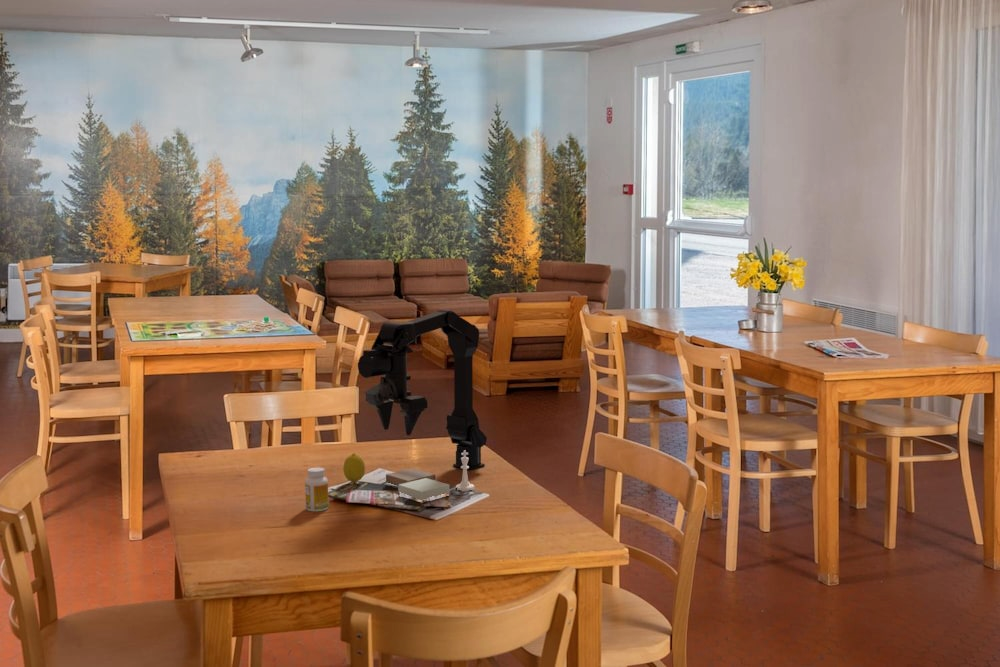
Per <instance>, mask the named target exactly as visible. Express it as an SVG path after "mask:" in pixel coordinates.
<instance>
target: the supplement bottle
mask: <svg viewBox="0 0 1000 667" xmlns="http://www.w3.org/2000/svg"><path fill="white" fill-rule="evenodd" d="M325 472H326V470H325V468H323V467H311V468H308V469H307V476H308V477H307V478H306V479H305V481H304V487H305V488H304V490H305V509H306V511H308V512H311V513H312V512H314V513H315V512H316V513H317V512H324V511H326V510H328V509H329V480H328V478H327V477H326V476H325V474H326V473H325Z"/></svg>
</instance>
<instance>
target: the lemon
mask: <svg viewBox="0 0 1000 667" xmlns="http://www.w3.org/2000/svg"><path fill="white" fill-rule="evenodd" d="M342 469H343V474H344V476H345V478H346V479H347V480H348V481H350V482H351V483H353V482H354V481H357V482H358V481H360V480H362V478H363V477H364V475H365V472H366V467H365V462H364V459H363V458H362V456H360V455H358V454H356V453H352V454H350V455H349V456H347V457H346V458H345V460H344V463H343V468H342Z"/></svg>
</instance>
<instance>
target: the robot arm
mask: <svg viewBox="0 0 1000 667" xmlns="http://www.w3.org/2000/svg"><path fill="white" fill-rule="evenodd" d="M380 327H381V328H380V329H379V332H378V333H377V334H378V335H377V336H376V338H375V339H374V340H375V341H374V342H373V343H372V345H371V349H363V351H362V355H361V356H359V360H358V362H357V370H358V372H359V374H360V375H361V377H363V378H364V379H368V378H374V377H377V376H378V377H379V376H381V377H380V378H379V380H380V382H379V383H378V384H375V385H374V386H372V387H370V388H369V389H368V390H366V391H365V392H364V394H365V401H366V402H368V404H369V405H370V406H371V407H373V408H375V409H376V411H377V414H378V416H379V418H380V422H381V424H382V427H383V429H384V430H385V431H386V430H389V428H390V424H391V418H392V412H393V406H394V403H395V404H399V406H400V408H401V410H399V412H400V413H401V414H402V415H403V417H404V426H405V428H404V429H405V435H406V436H411V435H412V432H413V430H414V428H415V426H416V424H417V422H418V420H419V418H420V415H421V414H422V412H424V411H425V410H426V409H428V408H429V405H428V404H429V400H428V398H426V397H425V396H421V395H412V391H410V390H408V381H411V380H412V378H411V377H412V376H411V375H408V366H407V365H408V361H407V360H408V358H407V357H408V355H407V354H413V353H414V349H412V348H410V346H408V345H410V344H411V343H413V342H414V341H415V339H416V338H417V337H419V336H421V335H425V334H427V333H431V332H433V331H436V330H440V331H441V332H442V333H443V334H444V335H445V336H447V344H448V347H449V349H450V351H451V353H452V354H453V361H454V362H453V363H454V364H453V365H454V366H453V368H454V369H453V376H454V381H453V383H454V384H453V385H454V387H453V389H454V390H453V391H454V393H453V394H454V396H453V397H454V399H453V400H454V401H453V402H454V404H453V406H454V407H453V408H454V409H453V410H452V412H451V413H450V414H447V415H446V428H445V430H447V434H448V436H449V437H450V441H451V443H452V444H456V451H455V463H452V466H453V467H456V468H460V469H462V468H461V466H463V464H462V461H461V458H462V457H464V455H461V453H464V450H466V453H468V455H466V457H468V458H469V460H468V463H467V466H469V468H468V469H467V471H469V470H473V469H476V468H481V467H485V466H486V463H482V448H483V447H484V446H486V444H487V440H488V437H487V436H486V435H485V433H484V432H483V431H482V430H481V429H480V424H479V418H478V415H477V414H476V411H475V410H474V407H473V402H474V400H473V399H474V398H473V397H474V396H473V388H474V387H473V386H474V385H473V382H474V381H473V378H474V377H473V376H474V375H473V374H474V373H473V372H474V371H473V356H474V354H475V353H476V351H477V349H478V347H479V341H480V329H479V328H478V327H477V326H476V325H475V324H472V323H470V322H469V321H468V320H466V319H464V318H462V317H461V316H459V315H458V313H456V312H454V311H453V310H448V309H438V310H437V311H435V312H432V313H429V314H425V315H422V316H419V317H417V318H414V319H411V320H408V321H407V320H406V321H389V322H385V323H383V324H381V326H380Z"/></svg>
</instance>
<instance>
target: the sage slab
mask: <svg viewBox="0 0 1000 667" xmlns="http://www.w3.org/2000/svg"><path fill="white" fill-rule="evenodd" d="M450 488H451V487H450V484H448V483H444V482H441V481H438V480H436V479H435V480H431V479H428V478H424V479H420V480H416V481H412V482H407V483H403V484H399V485H398V489H397V490H398V492H401V493H404V494H407V495H409V496H412V497H415V498H417V499H420V500H423V499H427V498H429V497H432V496H438V495H441V494H445V493H447V494H450ZM450 495H451V494H450Z"/></svg>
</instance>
